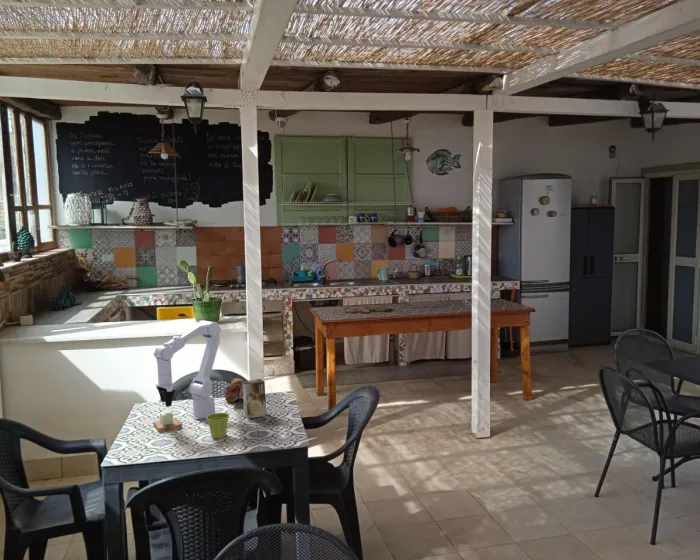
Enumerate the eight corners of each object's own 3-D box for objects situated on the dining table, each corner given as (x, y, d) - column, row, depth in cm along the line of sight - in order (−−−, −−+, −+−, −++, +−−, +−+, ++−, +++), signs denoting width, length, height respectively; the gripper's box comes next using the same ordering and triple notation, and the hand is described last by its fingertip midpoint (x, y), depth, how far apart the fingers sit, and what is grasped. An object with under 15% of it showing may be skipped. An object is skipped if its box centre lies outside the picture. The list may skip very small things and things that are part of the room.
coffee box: (262, 411, 287) (261, 378, 285) (266, 415, 281) (265, 381, 279) (243, 414, 283) (242, 380, 281) (247, 418, 277) (245, 384, 275)
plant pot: (210, 442, 249) (209, 421, 248) (204, 435, 258) (203, 415, 257) (233, 437, 254) (232, 417, 253) (226, 431, 262) (225, 411, 261)
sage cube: (170, 420, 271) (169, 410, 271) (173, 423, 268) (172, 413, 267) (160, 422, 269) (159, 412, 268) (163, 425, 265) (162, 415, 265)
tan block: (176, 423, 275) (176, 417, 275) (182, 429, 267) (181, 424, 266) (153, 427, 270) (153, 421, 270) (158, 434, 262) (158, 428, 262)
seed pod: (214, 394, 294) (243, 383, 295) (214, 378, 309) (242, 368, 310) (224, 416, 299) (253, 405, 300) (224, 399, 314) (252, 389, 315)
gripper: (151, 371, 270) (153, 401, 272) (159, 378, 258) (161, 409, 259) (167, 369, 274) (169, 398, 275) (176, 375, 261) (177, 406, 263)
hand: (166, 403), depth 267 cm, fingers open, 7 cm apart
